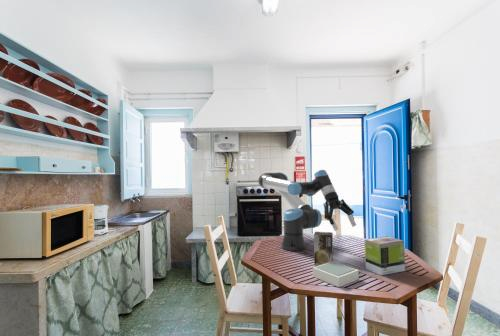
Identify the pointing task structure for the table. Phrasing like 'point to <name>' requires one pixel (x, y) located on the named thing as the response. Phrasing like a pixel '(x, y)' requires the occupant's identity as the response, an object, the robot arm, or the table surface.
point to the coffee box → (323, 248)
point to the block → (335, 273)
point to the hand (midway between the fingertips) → (345, 227)
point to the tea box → (385, 255)
